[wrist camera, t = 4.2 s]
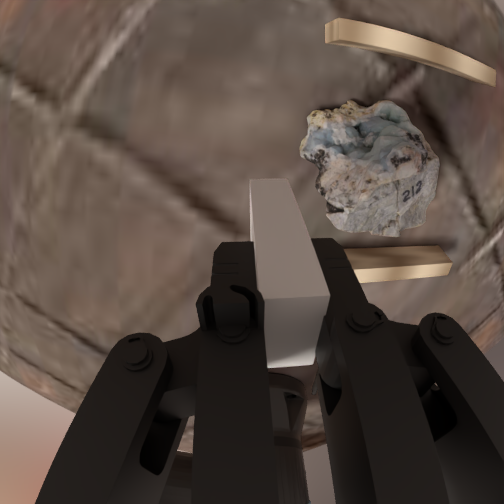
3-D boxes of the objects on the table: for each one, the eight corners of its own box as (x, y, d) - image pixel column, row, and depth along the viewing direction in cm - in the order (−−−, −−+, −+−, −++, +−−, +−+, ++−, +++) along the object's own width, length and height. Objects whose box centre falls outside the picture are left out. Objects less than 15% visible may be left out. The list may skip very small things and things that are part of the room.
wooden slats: (309, 263, 26) (317, 285, 24) (325, 24, 15) (338, 17, 12) (433, 257, 26) (447, 274, 24) (473, 66, 15) (496, 70, 13)
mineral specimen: (350, 109, 23) (310, 209, 25) (316, 62, 16) (261, 193, 19) (452, 147, 18) (409, 259, 21) (459, 101, 11) (401, 263, 14)
